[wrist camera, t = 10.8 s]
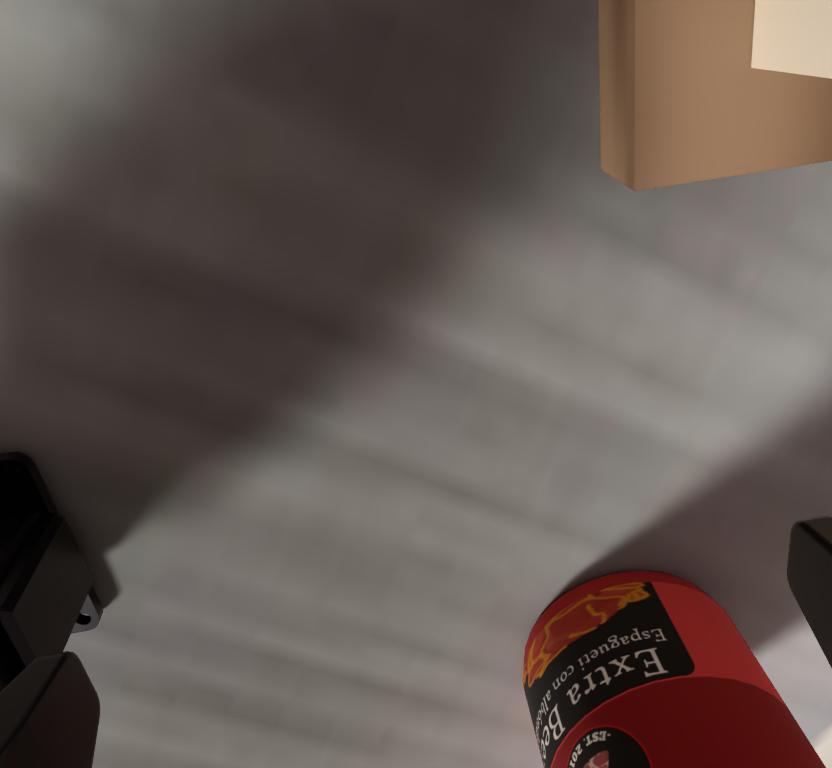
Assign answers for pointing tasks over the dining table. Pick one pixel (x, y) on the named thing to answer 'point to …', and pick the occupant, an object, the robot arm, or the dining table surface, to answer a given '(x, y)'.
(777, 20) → the cream block
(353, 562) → the dining table surface
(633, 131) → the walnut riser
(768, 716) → the canned food
